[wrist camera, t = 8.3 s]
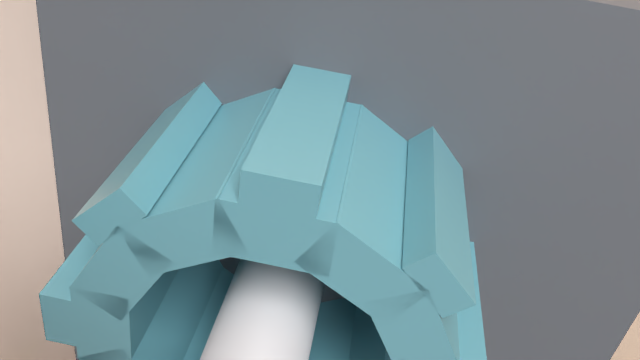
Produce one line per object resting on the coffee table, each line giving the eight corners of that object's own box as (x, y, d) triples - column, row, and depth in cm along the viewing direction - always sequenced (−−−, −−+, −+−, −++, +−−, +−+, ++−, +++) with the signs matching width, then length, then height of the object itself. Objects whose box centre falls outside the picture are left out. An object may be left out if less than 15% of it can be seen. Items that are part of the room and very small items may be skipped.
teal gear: (426, 373, 14) (426, 530, 11) (138, 312, 14) (62, 447, 11) (522, 108, 10) (562, 234, 7) (128, 32, 10) (12, 124, 7)
